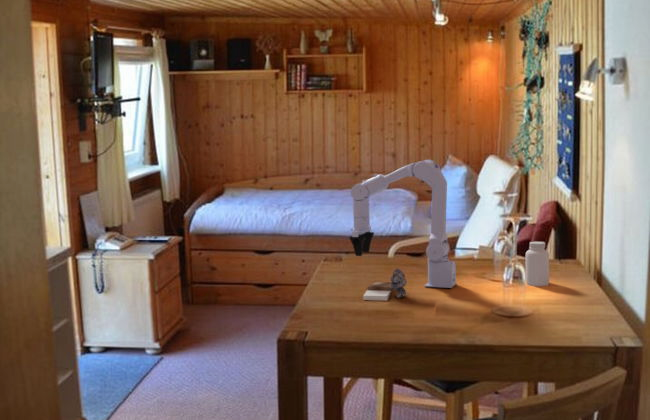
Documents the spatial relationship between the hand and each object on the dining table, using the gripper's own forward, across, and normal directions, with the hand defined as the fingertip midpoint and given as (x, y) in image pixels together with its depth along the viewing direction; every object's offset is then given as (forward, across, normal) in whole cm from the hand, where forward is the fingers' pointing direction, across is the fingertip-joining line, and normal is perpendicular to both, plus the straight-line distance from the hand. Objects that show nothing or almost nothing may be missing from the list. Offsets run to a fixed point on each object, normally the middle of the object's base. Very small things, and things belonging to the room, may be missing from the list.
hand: (362, 254), depth 287 cm
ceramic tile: (+11, +20, +12) cm, 26 cm away
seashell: (+11, +18, +19) cm, 28 cm away
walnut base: (+11, +9, +11) cm, 18 cm away
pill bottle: (+11, -13, +60) cm, 62 cm away
